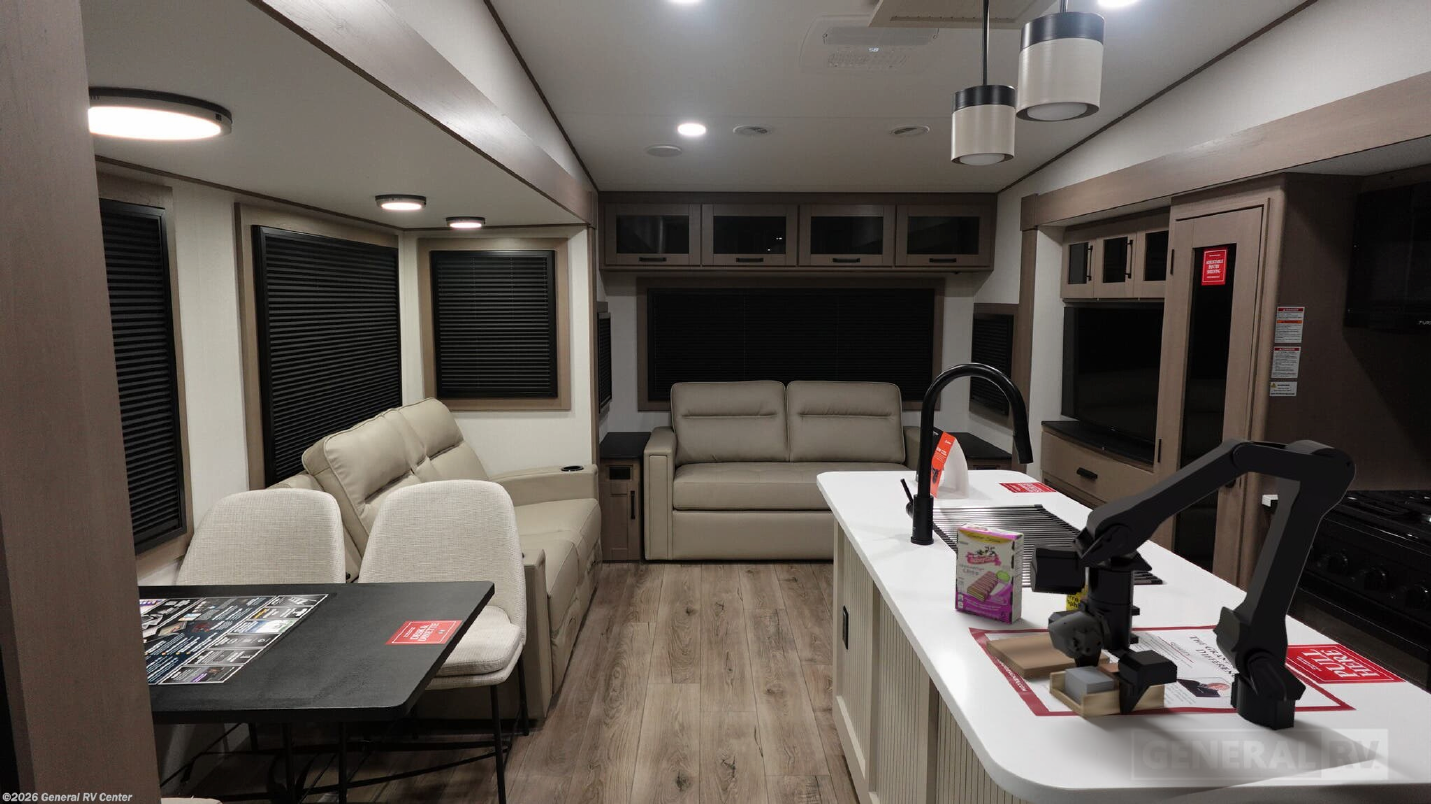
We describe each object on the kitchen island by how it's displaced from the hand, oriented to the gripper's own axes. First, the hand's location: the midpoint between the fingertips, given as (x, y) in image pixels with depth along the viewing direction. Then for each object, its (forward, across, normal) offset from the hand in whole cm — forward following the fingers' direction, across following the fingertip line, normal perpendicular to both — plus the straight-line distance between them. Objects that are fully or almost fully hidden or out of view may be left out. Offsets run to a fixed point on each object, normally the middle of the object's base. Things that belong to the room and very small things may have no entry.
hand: (1105, 702), depth 104 cm
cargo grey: (0, 0, -3) cm, 3 cm away
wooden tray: (+1, 0, 0) cm, 1 cm away
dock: (+1, -13, 0) cm, 13 cm away
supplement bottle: (+1, -25, +17) cm, 30 cm away
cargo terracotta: (0, 0, +3) cm, 3 cm away
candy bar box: (+1, -34, +3) cm, 34 cm away
